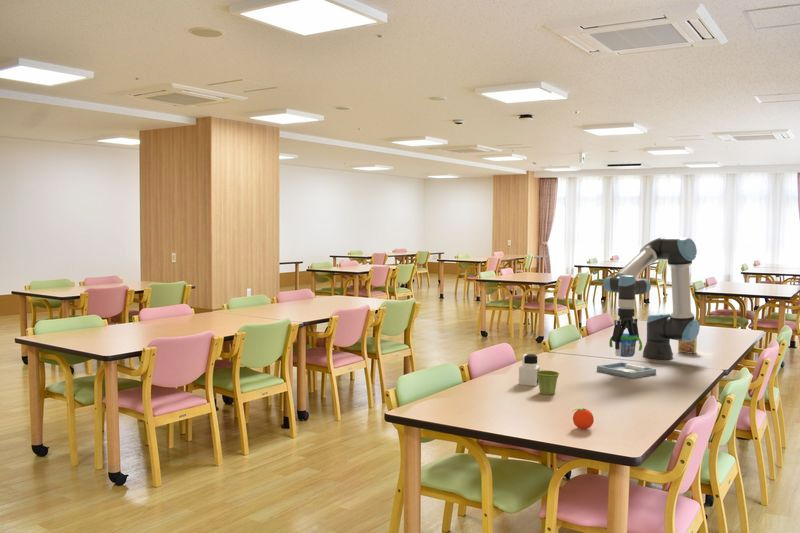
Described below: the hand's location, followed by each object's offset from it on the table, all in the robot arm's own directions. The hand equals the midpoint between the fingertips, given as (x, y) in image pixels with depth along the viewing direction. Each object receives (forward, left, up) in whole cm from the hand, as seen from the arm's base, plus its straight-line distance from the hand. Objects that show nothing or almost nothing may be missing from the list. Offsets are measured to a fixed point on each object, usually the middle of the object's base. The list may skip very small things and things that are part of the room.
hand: (625, 354), depth 325 cm
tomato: (+88, +53, -9) cm, 103 cm away
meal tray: (-1, 0, -9) cm, 9 cm away
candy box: (-75, -18, -9) cm, 78 cm away
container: (+55, -7, -9) cm, 56 cm away
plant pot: (+61, +10, -9) cm, 62 cm away
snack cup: (0, 0, -1) cm, 1 cm away
